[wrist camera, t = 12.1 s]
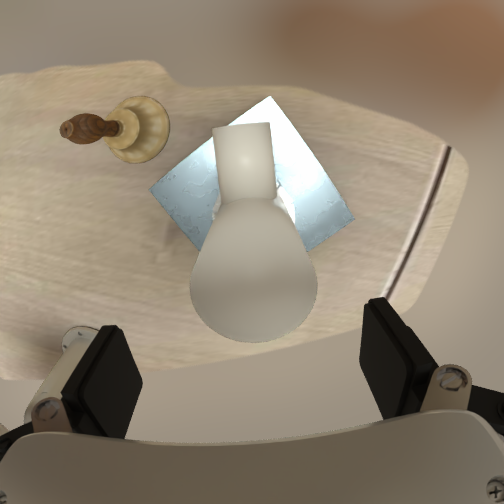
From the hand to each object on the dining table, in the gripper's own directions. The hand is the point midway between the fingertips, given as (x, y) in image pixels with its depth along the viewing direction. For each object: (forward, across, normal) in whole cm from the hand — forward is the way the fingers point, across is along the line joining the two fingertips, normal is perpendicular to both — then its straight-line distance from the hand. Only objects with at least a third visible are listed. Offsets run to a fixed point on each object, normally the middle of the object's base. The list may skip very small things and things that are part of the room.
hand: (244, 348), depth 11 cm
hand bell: (+27, +12, -11) cm, 31 cm away
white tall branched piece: (+20, -1, -3) cm, 20 cm away
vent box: (+27, -1, -1) cm, 27 cm away
